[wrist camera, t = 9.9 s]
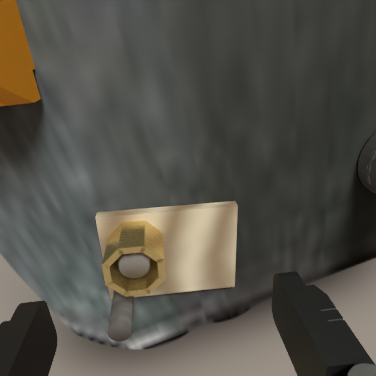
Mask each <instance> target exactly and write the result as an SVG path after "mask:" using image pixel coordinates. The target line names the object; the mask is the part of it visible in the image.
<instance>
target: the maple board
mask: <svg viewBox="0 0 376 376" xmlns="http://www.w3.org/2000/svg"><path fill="white" fill-rule="evenodd" d="M237 210H238V205H237V204H236V202H235V201H228V202H216V203H204V204H192V205H180V206H168V207H156V208H144V209H132V210H120V211H108V212H97V214H96V217H95V219H96V224H97V229H98V235H99V240H100V246H101V251H102V257H104V253H105V248H106V243H107V238H108V237H109V235H110V234H111V233H112V232H113V231H114V230H115V229H116V228H117V227H118V226H119V225H120V224H121V223H122V222H130V221H142V220H145V221H147V222H148V223H150V224H151V225H153V226H154V227H155V228H157V229H158V230H160V231H161V232H162V235H163V248H164V260H165V275H166V279H165V280H164V281H163V282H162V283H161V284H160V285H159V286H158V287H157V288H156V289H155V290H154V291H153V292H152V293H150V294H146V295H137V296H127V297H125V296H123V295H122V294H120V293H118V292H117V291H115V290H113V289H111V288H110V287H108V289H109V295H110V300H113V301H112V308H111V315H110V322H109V329H108V335H109V337H110V338H111V339H113V340H115V341H123V340H126V339H128V338H129V337H130V336H131V332H132V316H133V300H134V297H141V296H151V295H160V294H170V293H179V292H188V291H198V290H207V289H217V288H226V287H235V263H236V237H237ZM149 267H150V257H149V256H147V255H145V254H144V253H142V252H140V253H129V254H122V255H121V256H120V260H119V270H120V272H121V273H122V274H123V275H124V276H126V277H128V278H140V277H142V276H144V275H145V274H146V273H147V272H148V270H149Z"/></svg>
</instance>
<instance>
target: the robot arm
mask: <svg viewBox="0 0 376 376" xmlns="http://www.w3.org/2000/svg"><path fill="white" fill-rule="evenodd" d="M358 176H359V178H360V181H361V183H362V184H363V185H364V186H365V187H366V188H367V189H369V190H370V191H371V192H373V193H374V194H376V133H375V134H374V135H373V136H372V137H371V138H370V139H369V141H368V142H367V143H366V145H365V146H364V148H363V150H362V152H361V154H360V158H359V161H358ZM272 313H273V318H274V321H275V324H276V327H277V329H278V331H279V333H280V336H281V338H282V340H283V343H284V345H285V347H286V350H287V352H288V354H289V357H290V359H291V361H292V364H293V366H294V368H295V371H296V373H297V375H298V376H376V365H375V364H374V362H373V361H372V360H371V358H370V357H369V355H368V354H367V353H366V351H365V350H364V348H363V347H362V345H361V344H360V342H359V341H358V339H357V338H356V336H355V335H354V333H353V332H352V331H351V329H350V328H349V326H348V325H347V323H346V322H345V321H344V320H343V318H342V316H341V314H340V313H339V312H338V310H336V308H335V306H334V304H333V303H332V301H331V300H330V299H329V297H328V295H327V294H325V293H324V292H323V291H322V290H320V289H319V288H318V287H316V286H315V285H307V286H306V285H305V283H304V282H303V280H302V279H301V277H300V275H299V274H298V273H297V272H287V273H279V274H275V275H274V279H273V295H272ZM56 347H57V333H56V330H55V327H54V324H53V321H52V318H51V316H50V312H49V309H48V306H47V303H46V302H45V301H37V302H28V303H21V304H20V305H19V306H18V307H17V309H16V310H15V312H14V314H13V316H12V318H11V320H10V321H5V322H2V323H1V324H0V376H48V374H49V371H50V368H51V365H52V361H53V358H54V355H55V352H56Z"/></svg>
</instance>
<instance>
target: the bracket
mask: <svg viewBox="0 0 376 376" xmlns="http://www.w3.org/2000/svg"><path fill="white" fill-rule="evenodd" d="M33 69H35V67H34V63H33V60H32V56H31V53H30V49H29V46H28V42H27V38H26V35H25V31H24V28H23V24H22V21H21V17H20V14H19V10H18V7H17V3H16V0H0V106H8V105H17V104H26V103H34V102H36V101H38V100H40V99H41V98H40V95H39V91H38V88H37V84H36V81H35V77H34V74H33Z"/></svg>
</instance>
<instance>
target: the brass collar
mask: <svg viewBox="0 0 376 376" xmlns="http://www.w3.org/2000/svg"><path fill="white" fill-rule="evenodd" d="M140 252H142V253H144V254H145V255H147V256H149V257H150V267H149V270H148V272H147V273H146V274H145V275H144V276H142V277H140V278H128V277H126V276H124V275H123V274H122V273H121V272H120V270H119V260H120V256H121V255H122V254H129V253H140ZM102 268H103V274H104V279H105V284H106V286H108V287H110V288H111V289H113V290H115V291H117V292H118V293H120V294H122V295H123V296H125V297H127V296H137V295H146V294H150V293H152V292H153V291H154V290H155V289H156V288H157V287H158V286H159V285H160V284H161V283H162V282H163V281H164V280H165V279H166V275H165V260H164V248H163V235H162V232H161V231H160V230H158V229H157V228H155V227H154V226H153V225H151V224H150V223H148V222H147V221H145V220H142V221H130V222H122V223H121V224H120V225H119V226H118V227H117V228H116V229H115V230H114V231H113V232H112V233H111V234H110V235H109V237H108V238H107V243H106V248H105V253H104V257H103V262H102Z"/></svg>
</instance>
